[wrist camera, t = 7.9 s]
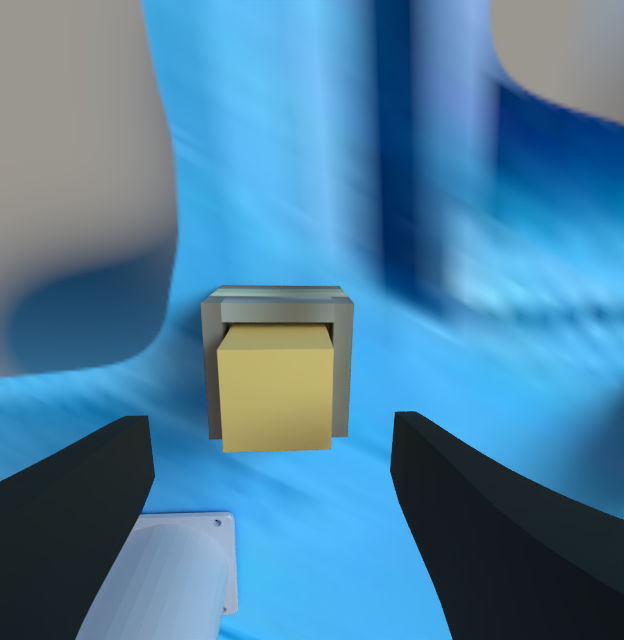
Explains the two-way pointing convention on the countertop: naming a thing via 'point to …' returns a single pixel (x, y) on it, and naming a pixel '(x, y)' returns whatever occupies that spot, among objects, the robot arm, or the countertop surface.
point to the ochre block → (276, 386)
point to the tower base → (279, 307)
